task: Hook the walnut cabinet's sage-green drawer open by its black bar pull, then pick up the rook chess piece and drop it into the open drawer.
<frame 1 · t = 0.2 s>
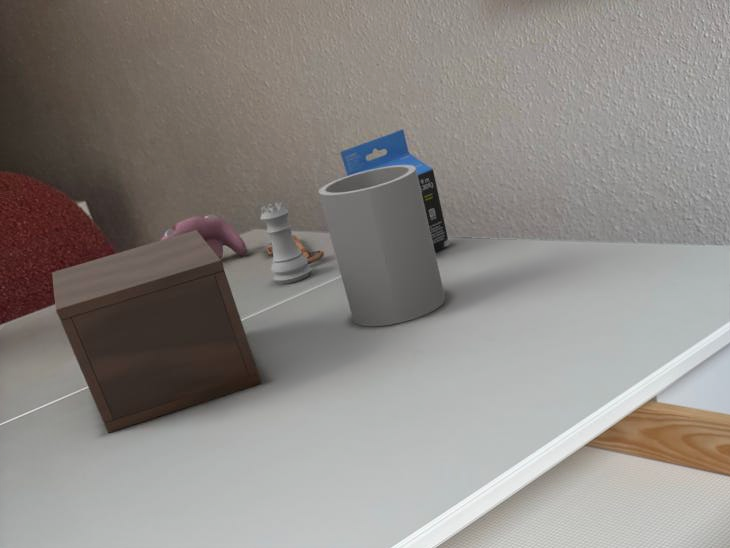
video game controller: (209, 267, 139), on the table
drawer: (149, 314, 102), point 5 cm above the table, slide at 0.5 cm
rook chess piece: (294, 279, 125), on the table
key: (295, 256, 134), on the table
cabinet: (175, 383, 101), on the table
tape cartridge: (410, 260, 121), on the table
cup: (399, 310, 106), on the table
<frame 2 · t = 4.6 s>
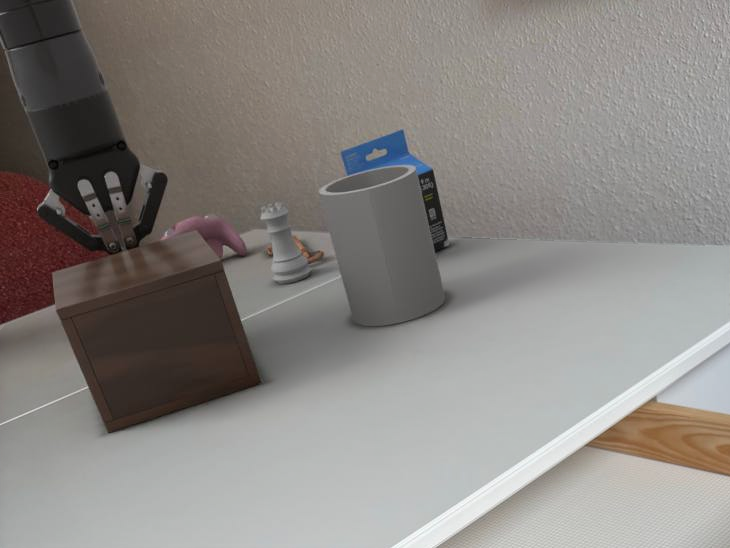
hand: (137, 286, 108), 7 cm above the table, tool pointing down, fingers closed
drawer: (149, 313, 103), point 5 cm above the table, slide at 1.0 cm
everything else where it was.
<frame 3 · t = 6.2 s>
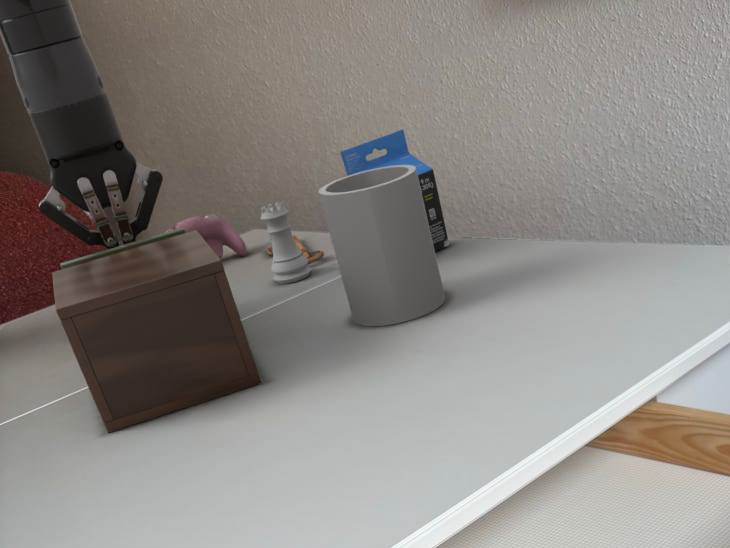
hand: (134, 279, 114), 6 cm above the table, tool pointing down, fingers closed
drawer: (142, 298, 108), point 5 cm above the table, slide at 7.6 cm, touching gripper
everything else where it was.
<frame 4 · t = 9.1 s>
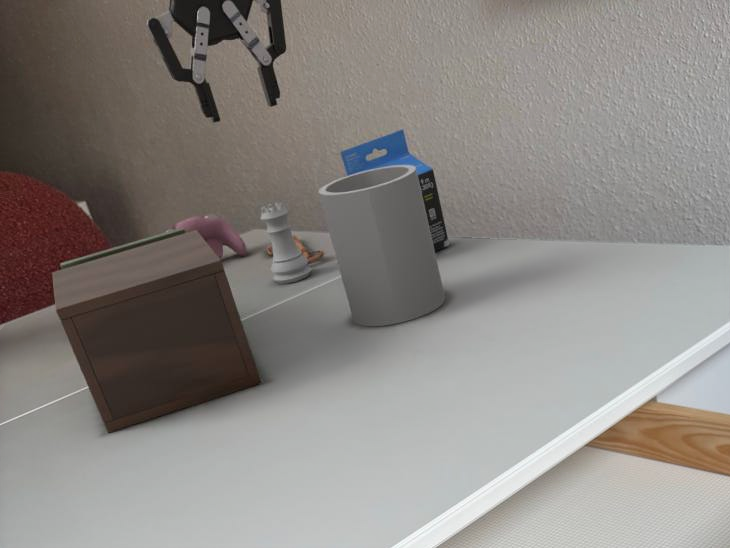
hand: (244, 112, 115), 18 cm above the table, tool pointing down, fingers open, 5 cm apart
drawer: (142, 298, 108), point 5 cm above the table, slide at 7.6 cm
everything else where it was.
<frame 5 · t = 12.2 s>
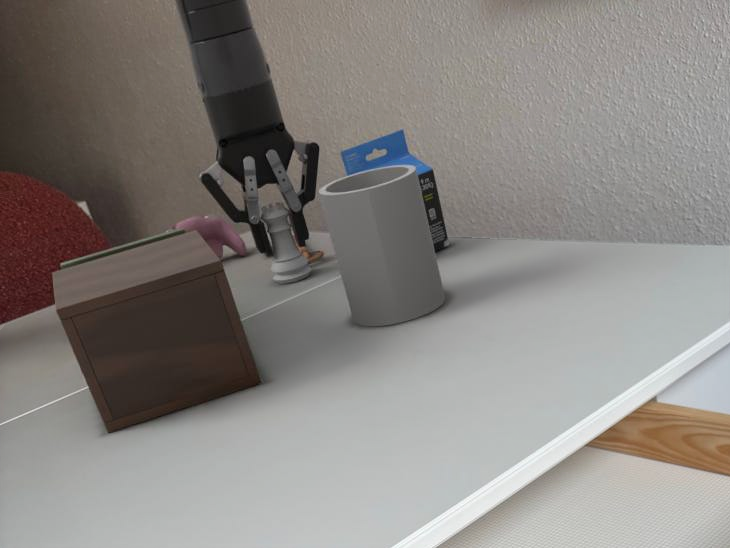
hand: (285, 250, 123), 3 cm above the table, tool pointing down, fingers closed on rook chess piece, 3 cm apart
rook chess piece: (294, 279, 125), on the table, touching gripper
everything else where it was.
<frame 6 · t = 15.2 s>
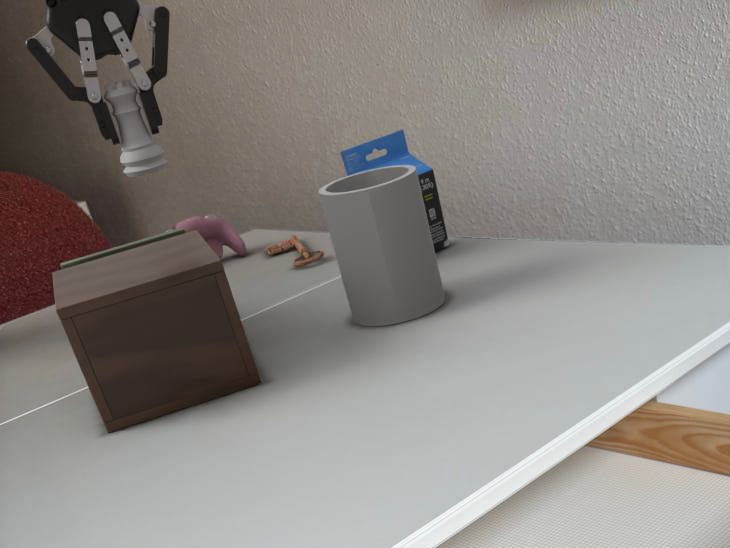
hand: (135, 137, 106), 19 cm above the table, tool pointing down, fingers closed on rook chess piece, 3 cm apart
rook chess piece: (147, 173, 108), point 15 cm above the table, touching gripper
everything else where it was.
when the fingers open (10 cm above the table, at t = 18.4 s): rook chess piece drops 5 cm, resting on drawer.
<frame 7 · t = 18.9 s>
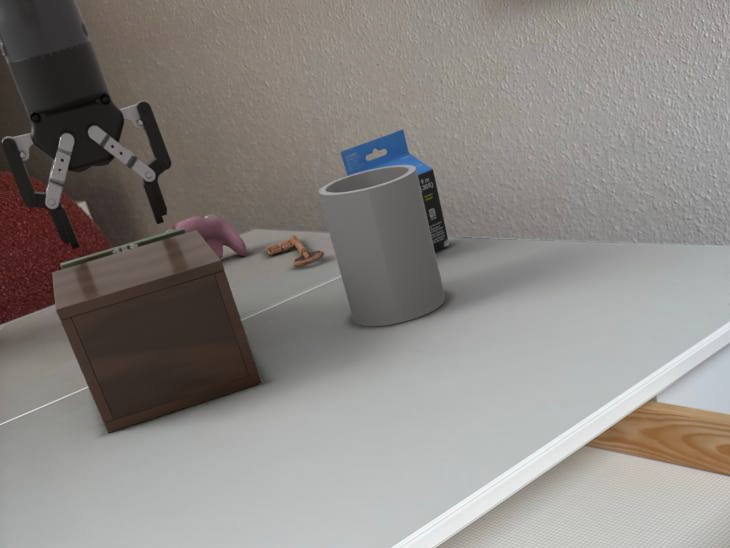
hand: (118, 234, 106), 11 cm above the table, tool pointing down, fingers open, 8 cm apart
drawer: (142, 298, 108), point 5 cm above the table, slide at 7.7 cm, touching rook chess piece
rook chess piece: (155, 330, 111), point 2 cm above the table, touching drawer
everything else where it was.
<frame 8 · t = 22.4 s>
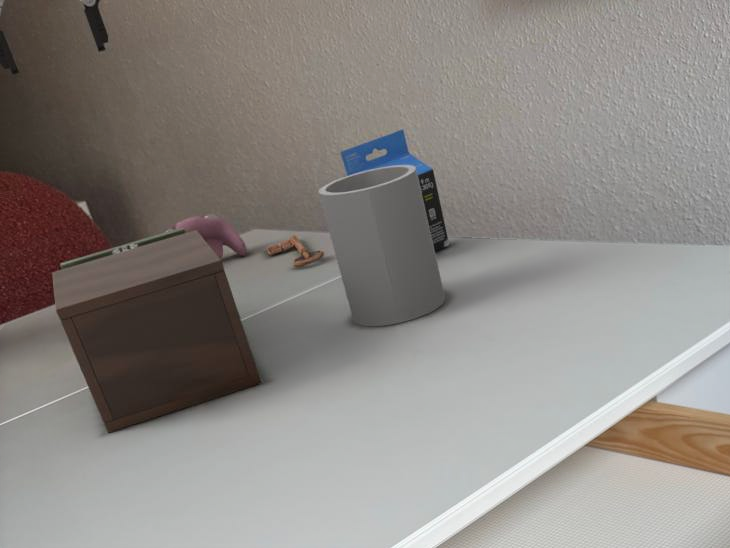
hand: (59, 62, 108), 26 cm above the table, tool pointing down, fingers open, 8 cm apart
nothing on the table moved.
at the end: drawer slide at 7.7 cm; rook chess piece inside the target area in the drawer (0.9 cm from its centre), point 1.9 cm above the cabinet's base; the gripper is holding nothing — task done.
